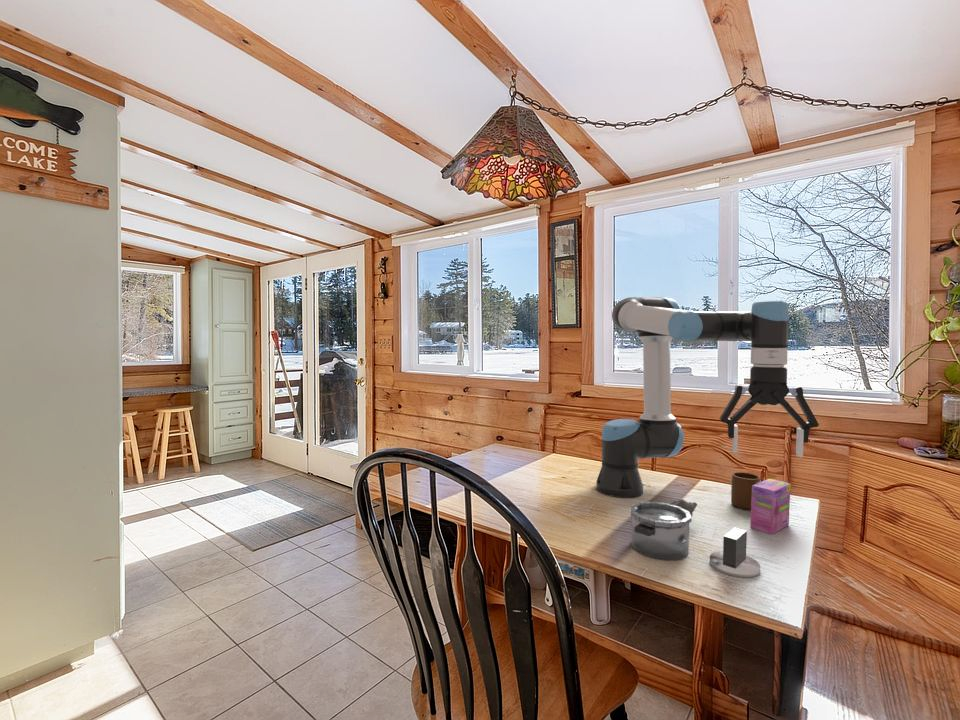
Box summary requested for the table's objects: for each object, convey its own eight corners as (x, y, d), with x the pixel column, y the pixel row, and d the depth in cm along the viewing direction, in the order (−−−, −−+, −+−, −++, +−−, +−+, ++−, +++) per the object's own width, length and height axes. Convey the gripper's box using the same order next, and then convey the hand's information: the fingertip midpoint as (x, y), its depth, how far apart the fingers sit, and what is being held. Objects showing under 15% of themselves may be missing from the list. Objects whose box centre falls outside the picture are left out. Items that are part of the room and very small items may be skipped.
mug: (777, 515, 137) (778, 483, 136) (754, 517, 135) (755, 484, 135) (746, 501, 148) (747, 471, 148) (725, 502, 147) (726, 472, 147)
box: (772, 535, 123) (774, 490, 123) (749, 528, 128) (751, 484, 127) (789, 525, 129) (791, 483, 129) (767, 519, 134) (768, 478, 133)
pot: (614, 550, 114) (615, 514, 114) (650, 529, 127) (651, 496, 126) (670, 570, 104) (671, 530, 104) (702, 545, 117) (703, 509, 117)
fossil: (678, 516, 136) (679, 488, 136) (705, 527, 128) (706, 498, 128) (649, 522, 131) (650, 494, 131) (675, 535, 123) (676, 505, 123)
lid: (702, 567, 106) (703, 533, 106) (719, 552, 113) (719, 521, 113) (751, 583, 99) (753, 547, 99) (766, 567, 106) (767, 533, 106)
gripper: (712, 365, 114) (711, 453, 115) (836, 367, 105) (833, 461, 106) (709, 364, 121) (707, 446, 122) (825, 365, 112) (822, 454, 113)
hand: (766, 453), depth 114 cm, fingers open, 13 cm apart
